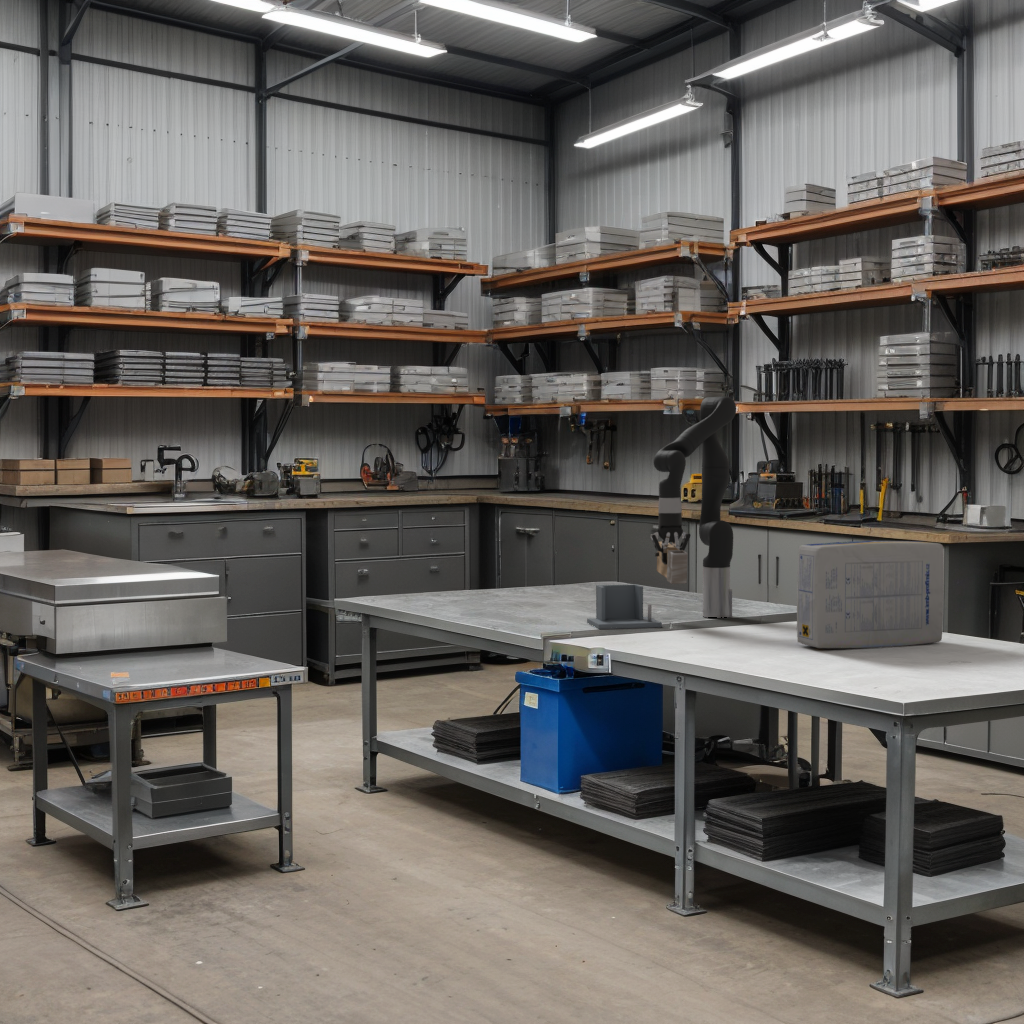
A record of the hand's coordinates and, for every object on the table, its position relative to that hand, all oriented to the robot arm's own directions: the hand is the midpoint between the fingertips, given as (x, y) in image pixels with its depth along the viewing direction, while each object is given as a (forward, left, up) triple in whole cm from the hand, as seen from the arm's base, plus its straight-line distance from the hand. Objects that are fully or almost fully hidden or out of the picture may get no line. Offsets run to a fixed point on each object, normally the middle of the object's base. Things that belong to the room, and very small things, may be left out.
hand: (670, 563), depth 398 cm
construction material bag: (-42, +56, -20) cm, 73 cm away
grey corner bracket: (+16, -1, -20) cm, 25 cm away
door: (0, -1, -4) cm, 5 cm away
